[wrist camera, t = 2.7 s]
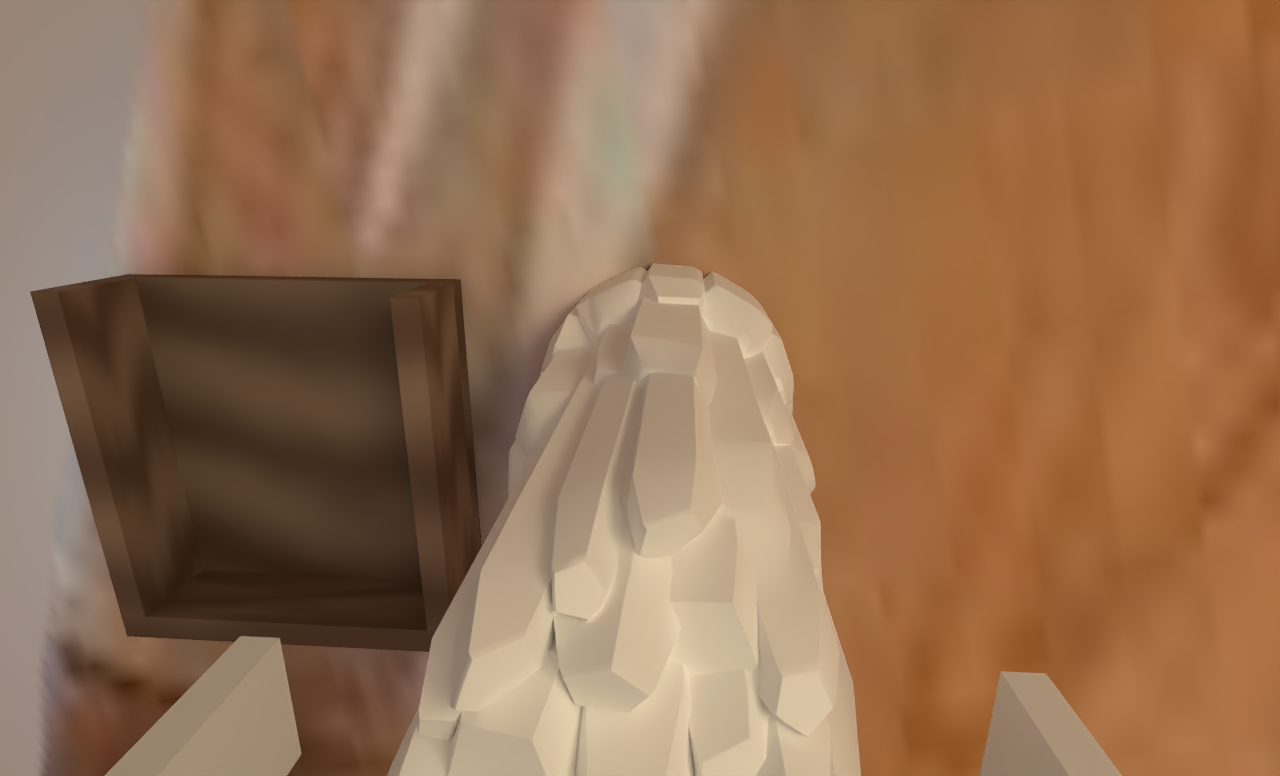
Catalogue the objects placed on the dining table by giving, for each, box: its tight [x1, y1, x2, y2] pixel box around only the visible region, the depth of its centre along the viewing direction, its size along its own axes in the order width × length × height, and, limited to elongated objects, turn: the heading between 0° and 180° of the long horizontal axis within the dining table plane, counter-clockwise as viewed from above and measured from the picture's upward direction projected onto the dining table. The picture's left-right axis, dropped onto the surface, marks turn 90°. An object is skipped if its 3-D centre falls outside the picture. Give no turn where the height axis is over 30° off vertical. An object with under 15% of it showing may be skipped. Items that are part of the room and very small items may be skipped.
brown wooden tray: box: [31, 274, 481, 652], centre depth 32 cm, size 17×16×5 cm
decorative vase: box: [387, 263, 861, 776], centre depth 20 cm, size 11×11×25 cm
